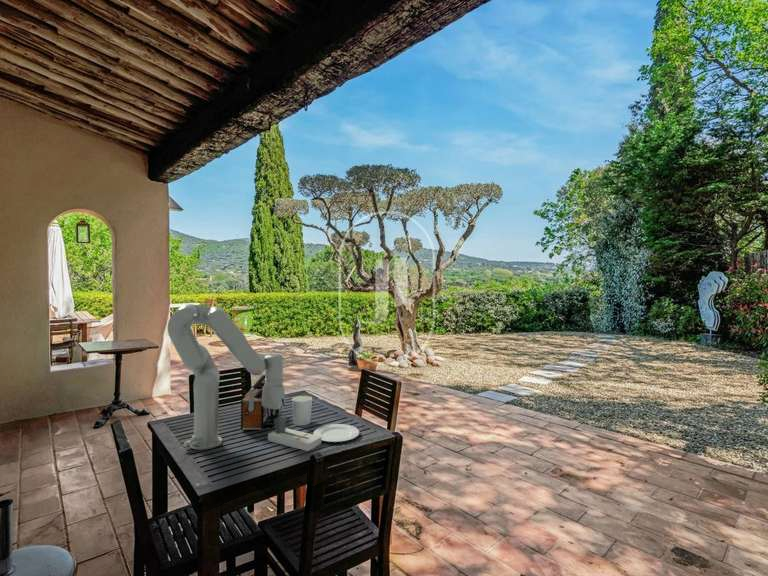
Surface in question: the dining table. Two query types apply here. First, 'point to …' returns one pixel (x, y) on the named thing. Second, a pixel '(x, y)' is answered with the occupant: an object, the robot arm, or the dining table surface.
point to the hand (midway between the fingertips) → (273, 422)
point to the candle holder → (301, 410)
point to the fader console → (295, 439)
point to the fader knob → (280, 424)
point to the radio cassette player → (254, 408)
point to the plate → (337, 433)
